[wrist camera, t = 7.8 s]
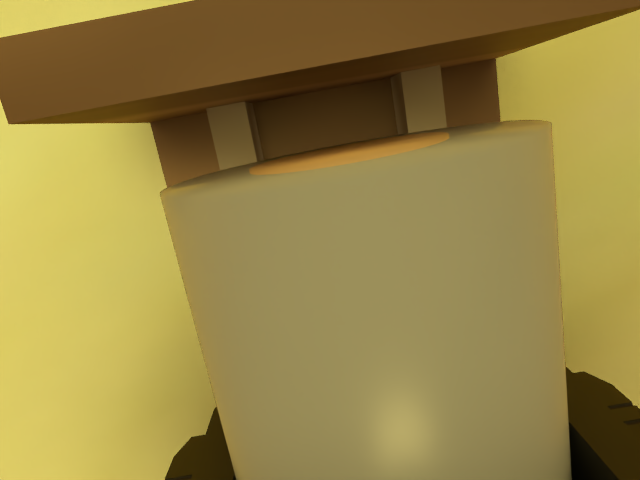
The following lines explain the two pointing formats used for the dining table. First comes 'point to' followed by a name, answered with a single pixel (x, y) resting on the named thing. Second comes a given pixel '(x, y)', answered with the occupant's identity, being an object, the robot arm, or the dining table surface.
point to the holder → (279, 71)
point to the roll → (383, 307)
